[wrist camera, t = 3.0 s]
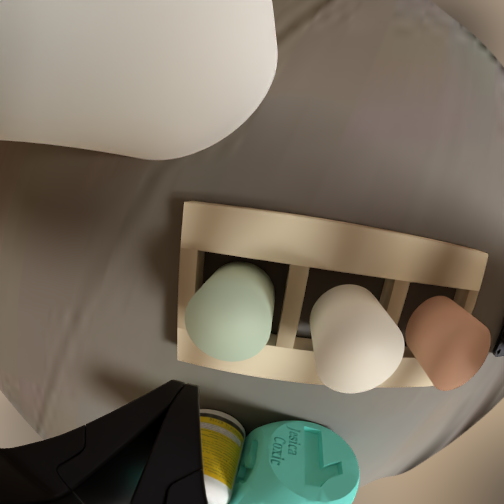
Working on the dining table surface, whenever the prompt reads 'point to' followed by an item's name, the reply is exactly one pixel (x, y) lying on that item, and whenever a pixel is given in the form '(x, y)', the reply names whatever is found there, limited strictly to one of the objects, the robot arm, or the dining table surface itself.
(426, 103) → the dining table surface
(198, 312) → the button sage
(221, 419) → the supplement bottle
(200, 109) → the canister
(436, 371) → the button terracotta
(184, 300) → the three-slot wooden rack
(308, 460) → the turquoise rounded piece
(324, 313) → the button cream
